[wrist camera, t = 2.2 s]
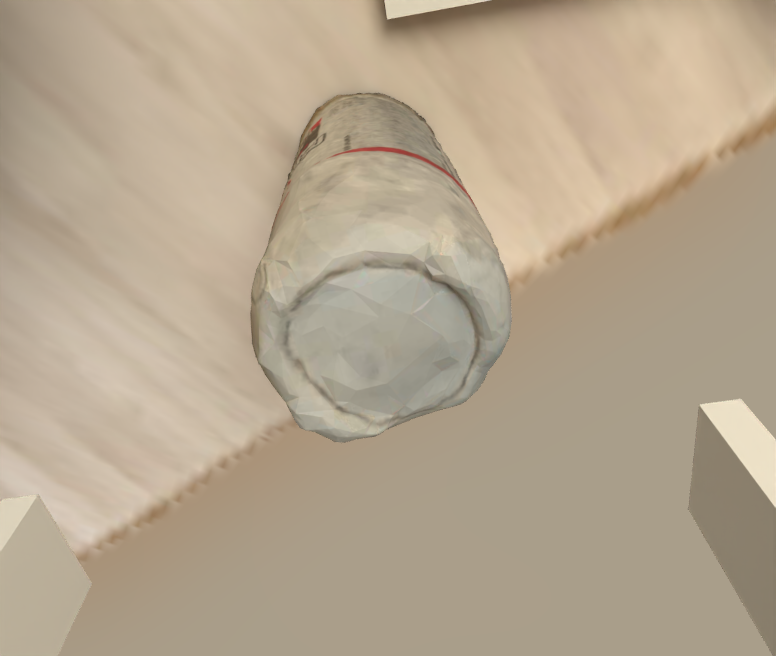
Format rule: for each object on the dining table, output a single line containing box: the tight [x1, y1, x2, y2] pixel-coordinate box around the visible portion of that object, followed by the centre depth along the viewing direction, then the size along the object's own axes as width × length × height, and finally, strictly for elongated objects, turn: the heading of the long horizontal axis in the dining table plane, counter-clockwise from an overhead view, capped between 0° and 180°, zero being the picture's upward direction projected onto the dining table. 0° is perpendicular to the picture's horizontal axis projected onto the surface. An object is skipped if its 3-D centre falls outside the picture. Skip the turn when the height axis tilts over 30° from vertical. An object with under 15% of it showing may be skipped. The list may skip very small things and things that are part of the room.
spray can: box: [250, 93, 512, 442], centre depth 25 cm, size 8×8×20 cm
